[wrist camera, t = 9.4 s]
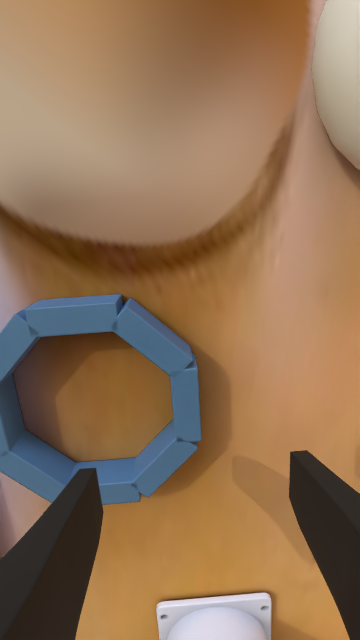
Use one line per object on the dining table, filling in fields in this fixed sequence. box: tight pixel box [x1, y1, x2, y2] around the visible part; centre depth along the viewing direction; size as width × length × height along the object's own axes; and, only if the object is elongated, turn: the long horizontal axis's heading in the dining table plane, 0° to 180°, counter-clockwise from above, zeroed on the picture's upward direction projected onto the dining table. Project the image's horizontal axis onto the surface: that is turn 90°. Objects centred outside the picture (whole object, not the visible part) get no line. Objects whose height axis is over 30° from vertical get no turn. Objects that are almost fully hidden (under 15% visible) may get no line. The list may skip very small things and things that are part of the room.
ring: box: [0, 294, 202, 505], centre depth 18 cm, size 11×11×2 cm
